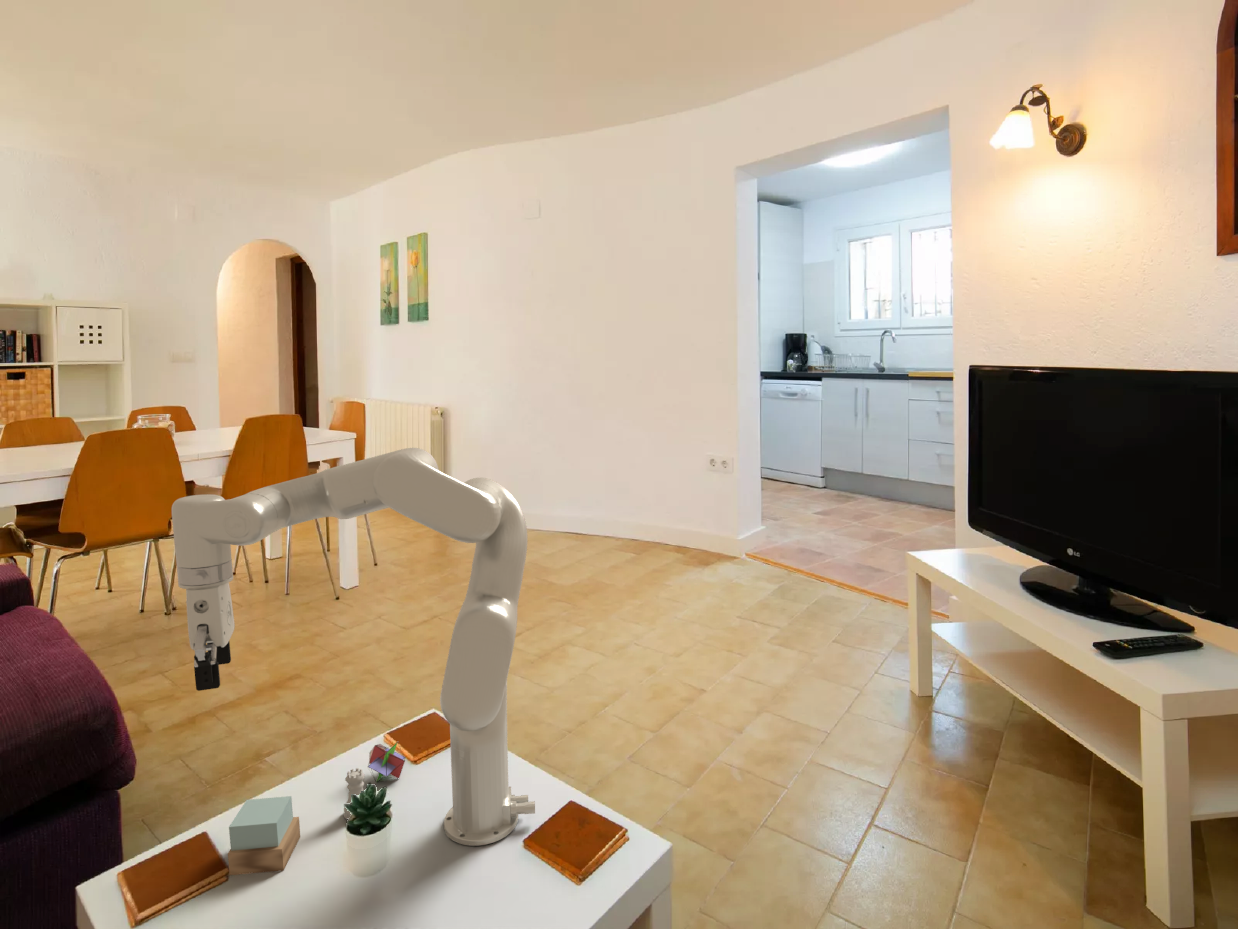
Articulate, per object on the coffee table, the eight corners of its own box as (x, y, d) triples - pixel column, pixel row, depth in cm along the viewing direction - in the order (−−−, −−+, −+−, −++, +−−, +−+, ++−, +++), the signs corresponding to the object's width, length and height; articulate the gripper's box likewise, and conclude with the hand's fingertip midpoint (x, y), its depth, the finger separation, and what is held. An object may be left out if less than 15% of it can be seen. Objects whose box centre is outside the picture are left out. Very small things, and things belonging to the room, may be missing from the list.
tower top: (293, 818, 116) (291, 796, 116) (278, 846, 109) (276, 822, 109) (248, 822, 115) (246, 799, 115) (230, 850, 108) (228, 827, 108)
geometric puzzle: (421, 760, 136) (397, 727, 136) (402, 780, 129) (377, 745, 130) (395, 777, 138) (372, 744, 138) (376, 798, 131) (351, 763, 131)
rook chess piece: (361, 824, 120) (359, 781, 119) (338, 820, 121) (335, 778, 120) (375, 808, 125) (373, 766, 124) (353, 805, 126) (350, 763, 124)
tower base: (300, 838, 117) (299, 816, 117) (283, 872, 109) (282, 849, 109) (250, 842, 116) (248, 820, 116) (229, 876, 108) (227, 853, 108)
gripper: (222, 586, 103) (231, 695, 106) (240, 557, 120) (248, 652, 122) (163, 592, 101) (174, 703, 103) (190, 561, 117) (199, 658, 119)
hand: (214, 675), depth 113 cm, fingers open, 9 cm apart
